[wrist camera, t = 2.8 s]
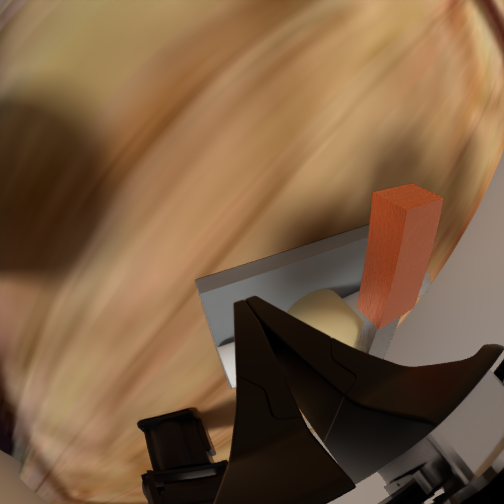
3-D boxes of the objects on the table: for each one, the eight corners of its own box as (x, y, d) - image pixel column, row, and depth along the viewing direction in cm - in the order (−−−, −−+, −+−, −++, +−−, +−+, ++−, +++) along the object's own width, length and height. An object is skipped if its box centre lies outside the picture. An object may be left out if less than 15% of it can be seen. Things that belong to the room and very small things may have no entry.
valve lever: (364, 370, 18) (378, 386, 17) (336, 386, 17) (349, 404, 16) (412, 183, 10) (443, 198, 9) (372, 192, 10) (407, 210, 8)
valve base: (225, 376, 24) (255, 442, 18) (194, 280, 18) (231, 370, 12) (387, 304, 30) (429, 344, 24) (408, 211, 23) (469, 248, 17)
